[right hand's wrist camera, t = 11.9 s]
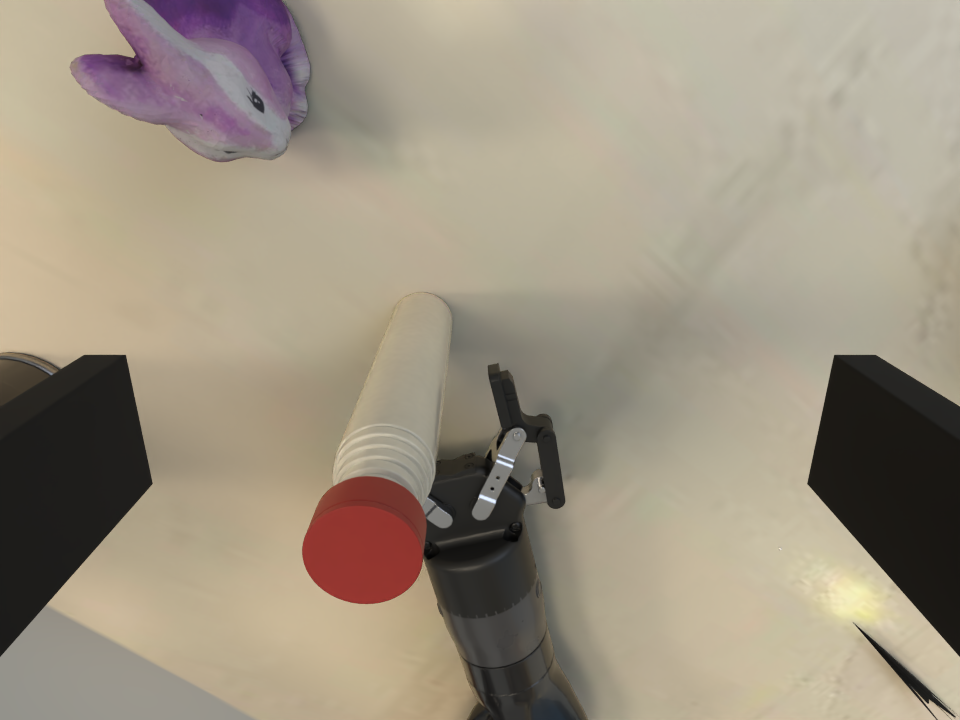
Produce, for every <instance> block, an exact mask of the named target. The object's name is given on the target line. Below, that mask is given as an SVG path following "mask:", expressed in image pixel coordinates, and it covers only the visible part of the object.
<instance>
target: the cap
mask: <svg viewBox="0 0 960 720" xmlns="http://www.w3.org/2000/svg"><path fill="white" fill-rule="evenodd" d="M426 528H427V523H426V517H425V513H424V511H423V508H422V506H421V504H420V503H419V501H418V500H417V499H416V497H415V496H414V495H413V494H412V493H411V492H410V491H409V490H407V489H406V488H405V487H403V486H402V485H400V484H398V483H396V482H394V481H391V480H389V479H385V478H382V477H375V476H360V477H354V478H350V479H347V480H344V481H342V482H340V483H338V484H336V485H335V486H333V487H332V488H331V489H329V490H328V491H327V492H326V493H325V494H324V495H323V497H322V498H321V500H320V501H319V504H318V506H317V508H316V510H315V513H314V515H313V518H312V520H311V523H310V525H309V528H308V530H307V533H306V535H305V538H304V542H303V548H302V555H303V561H304V565H305V567H306V570H307V572H308V573H309V575H310V577H311V578H312V579H313V581H314V582H315V583H316V584H317V585H318V586H319V587H320V588H322V589H323V590H324V591H326V592H327V593H329V594H330V595H332V596H334V597H336V598H339V599H341V600H344V601H348V602H352V603H358V604H374V603H380V602H384V601H388V600H391V599H393V598H395V597H397V596H399V595H401V594H402V593H404V592H405V591H406V590H408V589H409V588H410V587H411V586H412V584H413V583H414V582H415V581H416V579H417V577H418V575H419V573H420V571H421V568H422V562H423V554H424V546H425V538H426Z"/></svg>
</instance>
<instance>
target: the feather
mask: <svg viewBox="0 0 960 720" xmlns="http://www.w3.org/2000/svg"><path fill="white" fill-rule="evenodd" d="M779 550H781V548H779ZM853 624H854V623H853ZM856 627H857V628H858V629H859V630H860V631H861V632H862V634H863V635H864V636H865V637H866V638H867V639H868V640H869V642H870V643H871V644H872V645H873V646H874V647H875V649H876V650H877V651H878V652H879V653H880V654H881V656H882V657H883V658H884V659H885V660H886V661H887V663H888V664H889V665H890V666H891V667H892V668H893V670H894V671H895V672H896V673H897V674H898V675H899V677H900V678H901V679H902V680H903V681H904V682H905V684H906V685H907V686H908V687H909V688H910V689H911V691H912V692H913V693H914V694H915V695H916V696H917V698H918V699H919V700H920V701H921V702H922V703H923V704H924V706H925V707H926V708H927V709H928V710H929V708H928V707H927V706H926V705H925V703H924V702H923V701H922V700H921V698H920V697H919V696H918V695H917V693H918V694H919V695H920V696H921V697H922V698H923V699H924V700H925V701H926V702H927V703H929V699H930V700H931V701H932V702H934V703H935V704H936V705H937V706H938V707H939V708H940V707H941V708H942V709H944V710H945V711H946V712H948V713H949V714H951V715H952V716H953V717H955V716H954V715H953V714H952V713H951V712H950V711H949V710H948V709H947V708H945V707H944V706H943V705H942V704H941V703H940V702H939V701H938V700H937V699H936V698H937V697H936V696H935V695H934V694H933V693H932V692H931V691H929V690H928V689H927V688H926V687H925V686H924V685H923V684H922V683H920V682H921V681H918V679H916V678H915V677H914V676H913V674H911V673H910V672H909V671H907V670H906V669H905V667H903V666H902V665H901V664H900V663H898V662H897V660H895V659H894V658H893V657H892V656H891V655H890V654H889V653H887V652H886V651H885V650H884V649H883V648H882V647H881V646H879V645H878V644H877V643H876V642H875V641H874V640H873V639H871V638H870V637H869V636H868V635H867V634H866V633H865V632H863V631H862V630H861V629H860V628H859V627H858V626H857V625H856ZM893 659H894V660H893ZM913 689H914V690H915V691H916V692H917V693H916V692H915V691H914V690H913ZM932 694H933V695H934V696H935V697H936V698H935V697H934V696H933V695H932ZM939 700H940V699H939ZM940 701H941V700H940ZM941 702H942V701H941ZM942 703H943V704H944V702H942ZM941 708H940V709H941ZM948 708H949V707H948ZM942 709H941V710H942ZM949 709H950V708H949ZM929 711H930V710H929ZM942 711H943V710H942ZM952 711H953V710H952ZM943 712H944V711H943ZM930 713H931V714H932V715H933V713H932V712H931V711H930ZM944 713H945V712H944ZM945 714H946V713H945ZM946 715H947V714H946ZM933 716H934V715H933ZM947 716H948V715H947ZM957 716H958V715H957ZM934 717H935V716H934ZM948 717H949V716H948ZM935 718H936V717H935ZM949 718H950V717H949ZM950 719H951V718H950ZM936 720H937V718H936ZM951 720H952V719H951Z"/></svg>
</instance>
